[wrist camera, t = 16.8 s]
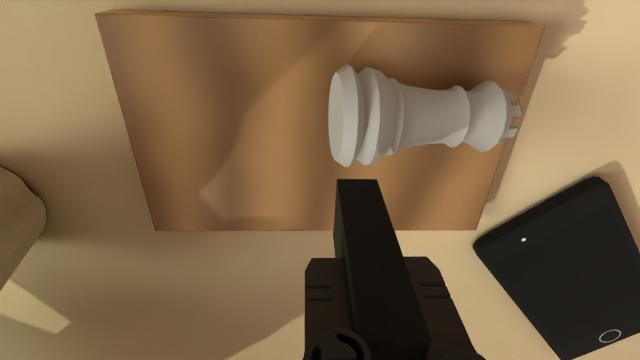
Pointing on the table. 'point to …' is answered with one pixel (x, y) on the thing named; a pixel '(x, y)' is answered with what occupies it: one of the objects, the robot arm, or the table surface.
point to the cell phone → (570, 269)
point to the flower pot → (17, 222)
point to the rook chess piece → (412, 116)
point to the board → (296, 113)
